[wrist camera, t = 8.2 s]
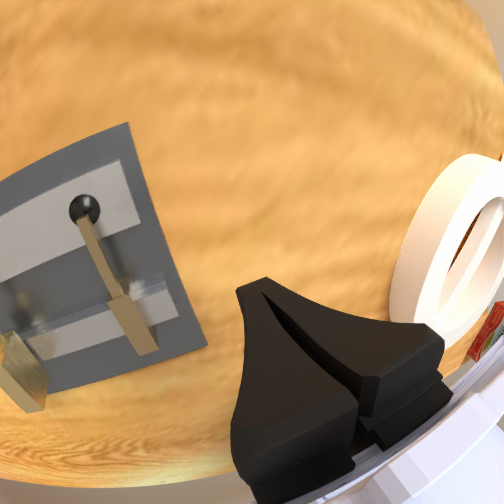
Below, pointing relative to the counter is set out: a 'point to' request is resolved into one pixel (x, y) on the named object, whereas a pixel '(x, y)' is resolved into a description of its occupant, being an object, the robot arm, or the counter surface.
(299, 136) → the counter surface
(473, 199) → the white circle with bar
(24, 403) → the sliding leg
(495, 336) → the medicine box
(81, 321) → the grey mechanism base plate
